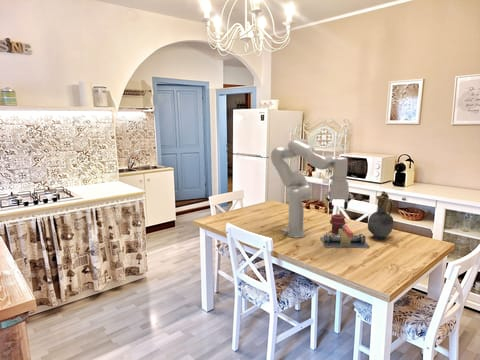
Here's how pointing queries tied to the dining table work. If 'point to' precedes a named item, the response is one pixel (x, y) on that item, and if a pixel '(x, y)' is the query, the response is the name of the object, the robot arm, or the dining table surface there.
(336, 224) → the mechanical component
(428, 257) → the dining table surface
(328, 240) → the valve body
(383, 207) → the pitcher
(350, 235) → the lever
